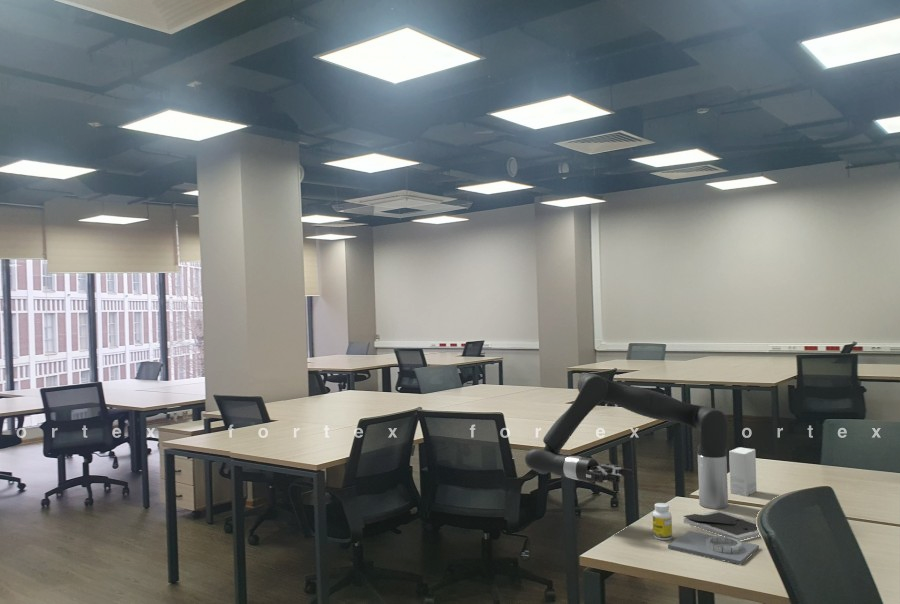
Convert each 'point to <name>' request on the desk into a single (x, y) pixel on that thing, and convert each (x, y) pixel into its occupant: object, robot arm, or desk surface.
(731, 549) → the steel ring collar
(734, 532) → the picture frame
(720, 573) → the desk surface
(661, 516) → the supplement bottle
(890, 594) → the desk surface
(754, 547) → the grey flat rectangular slab
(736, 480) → the skincare box
